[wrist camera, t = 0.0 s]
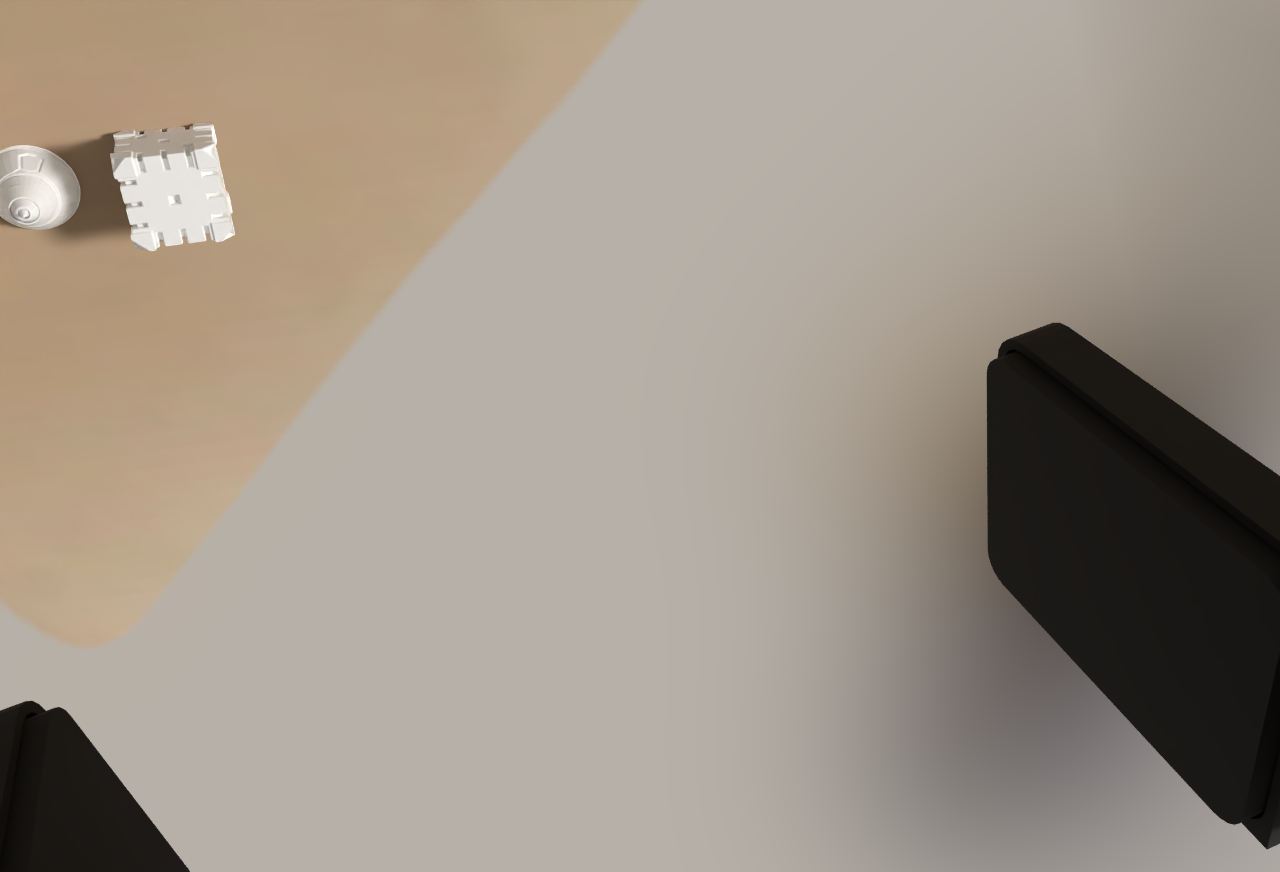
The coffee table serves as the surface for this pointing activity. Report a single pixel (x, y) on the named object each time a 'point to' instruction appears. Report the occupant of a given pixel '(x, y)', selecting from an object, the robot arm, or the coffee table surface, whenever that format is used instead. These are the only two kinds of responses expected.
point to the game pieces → (129, 186)
